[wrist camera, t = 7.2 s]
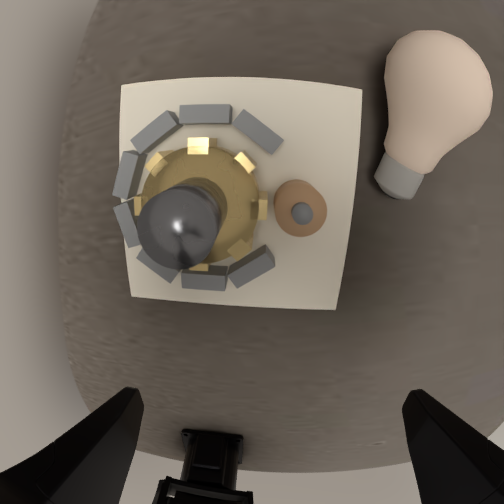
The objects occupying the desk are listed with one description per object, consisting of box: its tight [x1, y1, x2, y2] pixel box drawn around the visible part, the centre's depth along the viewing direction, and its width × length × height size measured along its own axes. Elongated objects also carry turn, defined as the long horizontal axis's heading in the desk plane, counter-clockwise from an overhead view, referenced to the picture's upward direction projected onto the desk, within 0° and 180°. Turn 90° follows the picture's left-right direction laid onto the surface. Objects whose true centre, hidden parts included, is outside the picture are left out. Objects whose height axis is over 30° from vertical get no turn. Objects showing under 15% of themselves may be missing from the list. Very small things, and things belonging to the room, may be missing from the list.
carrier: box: [112, 77, 362, 310], centre depth 16 cm, size 14×14×4 cm
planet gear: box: [134, 138, 268, 271], centre depth 14 cm, size 7×7×7 cm
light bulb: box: [374, 30, 493, 199], centre depth 13 cm, size 7×7×11 cm
